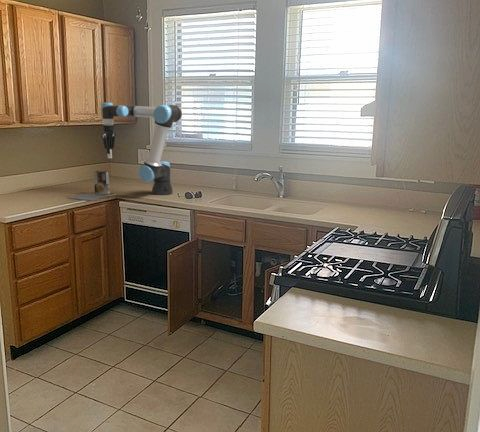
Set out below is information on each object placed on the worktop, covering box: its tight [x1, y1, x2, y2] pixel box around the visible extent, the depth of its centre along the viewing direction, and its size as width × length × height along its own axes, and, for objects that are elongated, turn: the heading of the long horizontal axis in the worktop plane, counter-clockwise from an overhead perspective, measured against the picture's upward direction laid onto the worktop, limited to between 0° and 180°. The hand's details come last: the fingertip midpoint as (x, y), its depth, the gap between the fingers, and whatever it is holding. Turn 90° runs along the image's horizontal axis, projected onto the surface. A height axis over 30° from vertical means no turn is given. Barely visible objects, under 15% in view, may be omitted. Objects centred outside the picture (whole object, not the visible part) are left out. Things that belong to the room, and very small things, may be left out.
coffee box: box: [93, 170, 111, 196], centre depth 336 cm, size 9×6×16 cm
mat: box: [67, 192, 109, 202], centre depth 324 cm, size 20×18×1 cm
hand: (109, 158), depth 341 cm, fingers closed
